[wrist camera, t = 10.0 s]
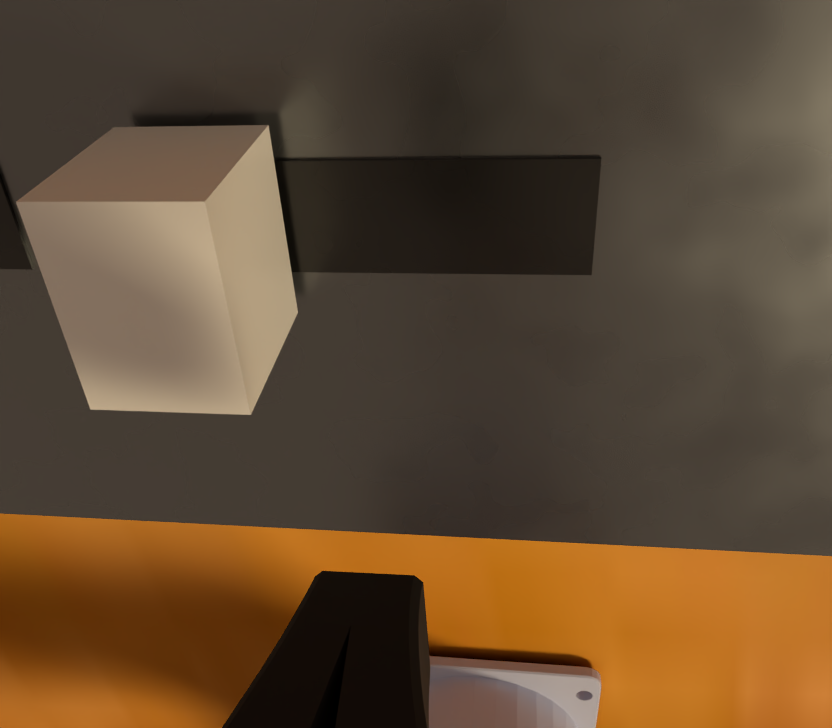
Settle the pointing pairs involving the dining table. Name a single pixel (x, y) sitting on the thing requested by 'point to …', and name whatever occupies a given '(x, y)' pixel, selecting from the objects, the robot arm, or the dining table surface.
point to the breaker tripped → (167, 266)
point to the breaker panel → (464, 267)
